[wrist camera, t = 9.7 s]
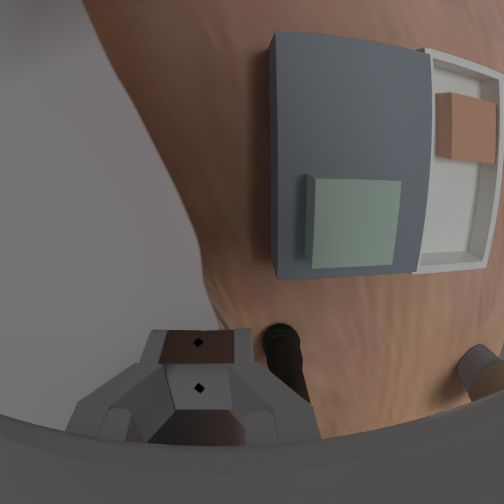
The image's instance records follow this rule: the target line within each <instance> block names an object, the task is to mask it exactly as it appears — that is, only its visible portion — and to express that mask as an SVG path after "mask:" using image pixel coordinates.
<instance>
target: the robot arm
mask: <svg viewBox="0 0 504 504" xmlns="http://www.w3.org/2000/svg"><path fill="white" fill-rule="evenodd" d="M175 409H214V410H215V409H216V410H218V409H219V410H232V411H233V412H234V413H235V415H236V416H237V417H238V419H239V420H240V421H241V422H242V424H243V425H244V426H245V427H246V446H179V445H161V444H149V443H146V442H147V441H148V440H149V439H150V438H151V437H152V436H153V435H154V433H156V432H157V430H158V429H159V428H160V427H161V426H162V425H163V424H164V423H165V421H166V420H167V419H168V418H169V417H170V416H171V415H172V414H173V413H174V412H175ZM0 504H504V389H503V390H501V391H498V392H496V393H494V394H491V395H489V396H486V397H483V398H481V399H478V400H476V401H473V402H470V403H467V404H465V405H462V406H459V407H456V408H453V409H450V410H447V411H444V412H441V413H437V414H434V415H431V416H427V417H424V418H420V419H417V420H413V421H409V422H406V423H402V424H398V425H394V426H389V427H385V428H380V429H376V430H371V431H366V432H361V433H356V434H350V435H345V436H339V437H333V438H326V439H321V436H320V432H319V428H318V424H317V421H316V417H315V413H314V409H313V406H312V405H311V404H310V403H308V402H307V401H306V400H304V399H303V398H302V397H301V396H299V395H298V394H297V393H296V392H294V391H293V390H292V389H291V388H290V387H288V386H287V385H286V384H285V383H283V382H282V381H281V380H280V379H279V378H277V377H276V376H275V375H274V374H273V373H271V372H270V371H269V370H268V369H267V368H265V367H264V366H263V365H262V364H261V363H255V362H254V351H253V339H252V329H251V328H244V329H234V330H212V331H201V330H200V331H199V330H198V331H196V330H195V331H194V330H169V331H168V330H153V331H151V332H150V335H149V338H148V340H147V343H146V346H145V348H144V351H143V354H142V357H141V360H140V363H134V364H133V365H131V366H130V367H128V368H127V369H125V370H124V371H123V372H121V373H120V374H118V375H117V376H115V377H114V378H112V379H111V380H110V381H108V382H107V383H105V384H104V385H102V386H101V387H99V388H98V389H96V390H95V391H93V392H92V393H90V394H89V395H87V396H86V397H85V398H83V399H82V400H80V401H79V402H78V403H77V405H76V407H75V409H74V412H73V414H72V416H71V418H70V420H69V423H68V425H67V428H66V430H65V431H62V430H57V429H52V428H48V427H44V426H40V425H36V424H32V423H29V422H25V421H21V420H18V419H14V418H11V417H8V416H4V415H1V414H0Z"/></svg>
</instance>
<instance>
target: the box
mask: <svg viewBox="0 0 504 504" xmlns="http://www.w3.org/2000/svg"><path fill="white" fill-rule="evenodd" d="M416 51H420V52H424V53H427V54H430V60H431V78H432V143H431V162H430V176H429V187H428V197H427V206H426V215H425V222H424V229H423V236H422V243H421V249H420V255H419V260H418V266H417V271H416V272H409V273H410V274H424V273H436V272H448V271H459V270H470V269H480V268H486V265H487V261H488V257H489V252H490V248H491V243H492V238H493V233H494V228H495V222H496V216H497V210H498V203H499V196H500V188H501V179H502V169H503V156H504V74H501V73H499V72H497V71H494V70H492V69H489V68H487V67H484V66H481V65H479V64H476V63H473V62H471V61H468V60H465V59H462V58H459V57H456V56H453V55H450V54H446V53H443V52H440V51H436V50H433V49H429V48H426V47H424V48H421V49H418V50H416ZM447 92H452V93H457V94H461V95H465V96H470V97H474V98H478V99H481V100H485V101H489V102H492V103H496V153H495V164H491V163H483V162H475V161H465V160H455V159H449V158H445V157H440V156H436V149H437V110H436V93H447Z"/></svg>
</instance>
